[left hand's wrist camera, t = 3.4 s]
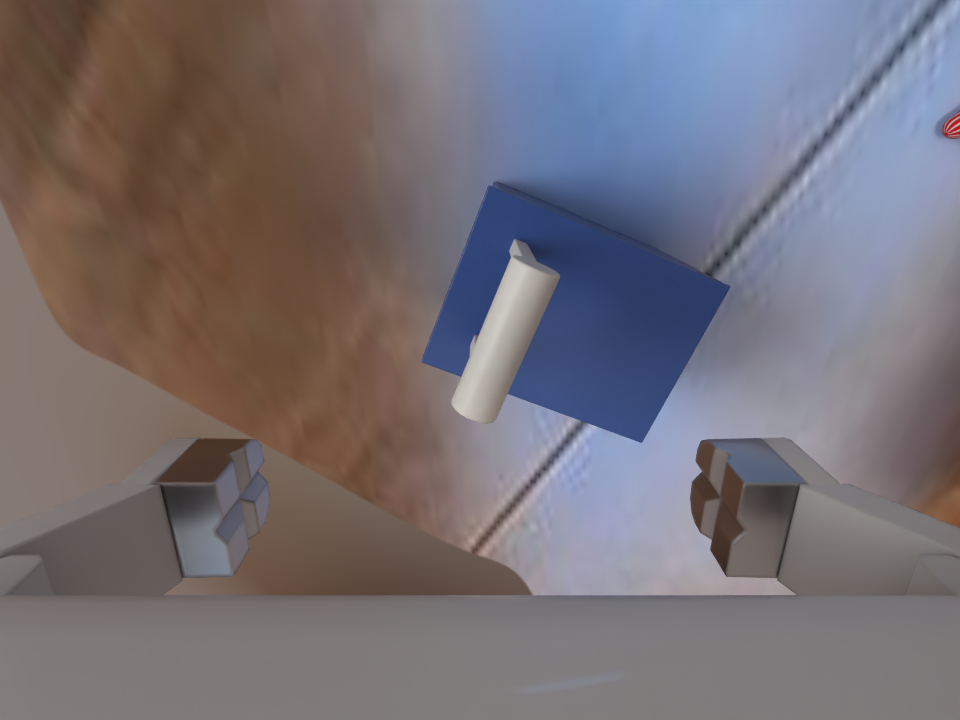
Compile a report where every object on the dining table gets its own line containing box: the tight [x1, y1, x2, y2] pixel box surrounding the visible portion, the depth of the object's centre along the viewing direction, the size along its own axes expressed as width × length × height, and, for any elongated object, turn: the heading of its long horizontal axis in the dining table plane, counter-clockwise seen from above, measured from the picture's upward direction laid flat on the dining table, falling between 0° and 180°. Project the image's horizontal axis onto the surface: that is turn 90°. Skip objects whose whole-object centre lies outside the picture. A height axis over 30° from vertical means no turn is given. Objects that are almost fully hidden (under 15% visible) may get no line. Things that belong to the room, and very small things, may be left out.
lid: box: [422, 185, 730, 443], centre depth 24 cm, size 13×10×9 cm
